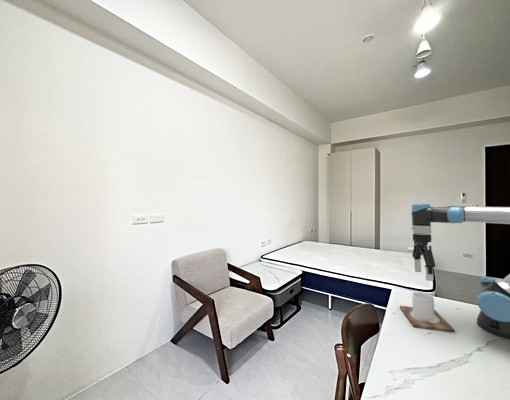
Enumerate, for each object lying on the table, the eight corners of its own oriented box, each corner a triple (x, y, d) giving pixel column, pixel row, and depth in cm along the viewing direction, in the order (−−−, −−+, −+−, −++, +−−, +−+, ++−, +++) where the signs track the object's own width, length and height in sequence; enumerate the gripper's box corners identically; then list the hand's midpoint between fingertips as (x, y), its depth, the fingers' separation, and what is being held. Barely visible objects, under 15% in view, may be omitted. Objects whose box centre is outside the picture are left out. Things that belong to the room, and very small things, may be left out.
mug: (437, 315, 112) (437, 293, 112) (432, 323, 104) (431, 301, 104) (417, 309, 118) (416, 289, 118) (410, 317, 110) (410, 295, 111)
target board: (434, 311, 118) (434, 309, 118) (455, 332, 99) (455, 329, 99) (399, 307, 123) (399, 305, 123) (413, 327, 104) (413, 324, 104)
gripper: (404, 230, 124) (406, 268, 124) (423, 237, 101) (425, 284, 100) (420, 230, 122) (421, 269, 122) (443, 237, 98) (445, 285, 98)
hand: (423, 276), depth 111 cm, fingers open, 13 cm apart
